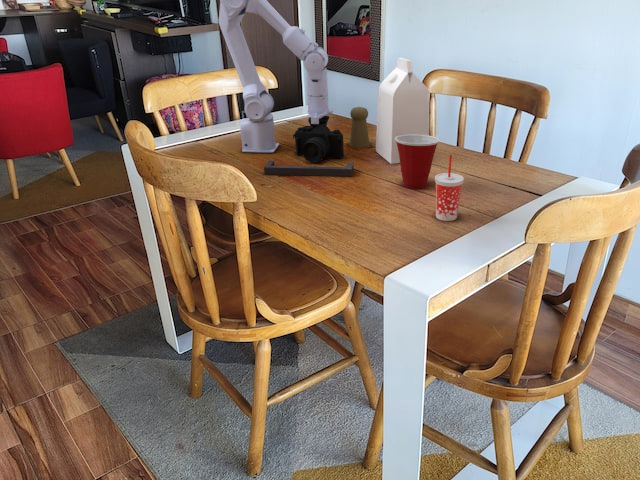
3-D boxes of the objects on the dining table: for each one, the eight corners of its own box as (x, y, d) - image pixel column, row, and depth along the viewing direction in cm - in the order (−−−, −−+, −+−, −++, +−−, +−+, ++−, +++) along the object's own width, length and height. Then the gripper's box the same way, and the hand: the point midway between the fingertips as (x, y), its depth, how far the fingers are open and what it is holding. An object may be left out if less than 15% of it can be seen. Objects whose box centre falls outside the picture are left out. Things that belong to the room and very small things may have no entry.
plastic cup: (441, 179, 145) (444, 133, 140) (431, 194, 137) (434, 145, 131) (400, 175, 149) (401, 129, 143) (388, 189, 140) (389, 141, 134)
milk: (429, 159, 160) (434, 61, 147) (391, 163, 156) (392, 64, 143) (411, 146, 169) (415, 54, 157) (375, 151, 166) (376, 57, 153)
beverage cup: (464, 220, 123) (470, 158, 117) (437, 223, 122) (441, 160, 115) (454, 209, 129) (459, 149, 122) (428, 212, 128) (432, 151, 121)
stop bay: (264, 174, 150) (263, 167, 149) (269, 167, 155) (268, 160, 154) (351, 176, 148) (351, 169, 147) (353, 169, 153) (353, 162, 152)
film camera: (285, 161, 159) (282, 129, 155) (299, 150, 167) (297, 120, 163) (336, 166, 155) (334, 133, 150) (348, 155, 163) (347, 124, 158)
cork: (369, 147, 169) (369, 110, 164) (349, 147, 169) (348, 110, 164) (369, 141, 174) (369, 105, 169) (349, 141, 174) (349, 105, 169)
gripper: (328, 100, 153) (330, 150, 159) (335, 89, 165) (336, 135, 172) (302, 100, 153) (305, 149, 160) (311, 88, 166) (313, 134, 172)
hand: (319, 142), depth 166 cm, fingers closed
